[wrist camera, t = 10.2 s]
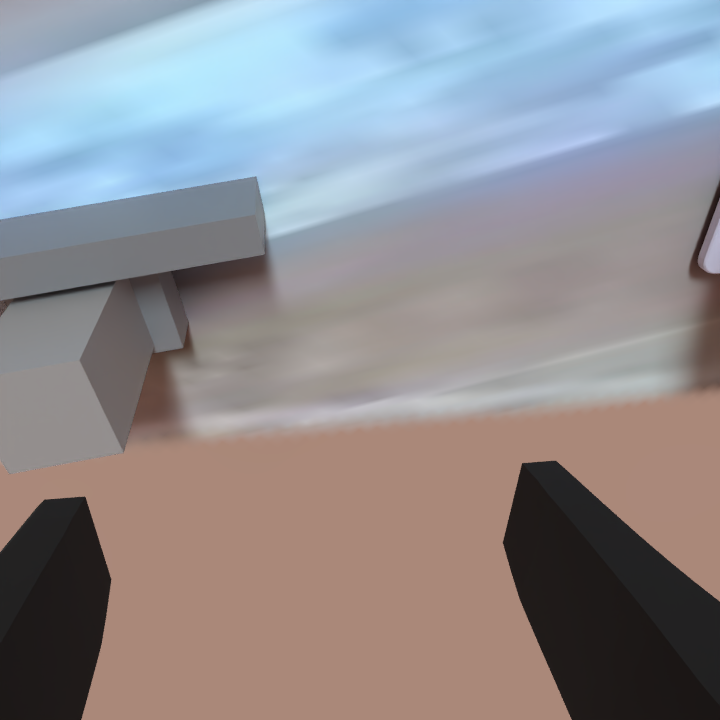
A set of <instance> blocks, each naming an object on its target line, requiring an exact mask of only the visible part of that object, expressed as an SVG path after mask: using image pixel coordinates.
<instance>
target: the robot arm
mask: <svg viewBox="0 0 720 720" xmlns="http://www.w3.org/2000/svg"><path fill="white" fill-rule="evenodd" d="M698 265H699V267H701V268H702V269H703V270H705V271H706V272H707V273H711V274H720V199H719V202H718V205H717V207H716V210H715V213H714V215H713V218H712V221H711V224H710V226H709V229H708V232H707V234H706V237H705V240H704V243H703V245H702V248H701V251H700V253H699V256H698ZM503 544H504V548H505V551H506V555H507V559H508V562H509V566H510V569H511V573H512V576H513V579H514V582H515V585H516V588H517V592H518V595H519V598H520V601H521V603H522V606H523V608H524V610H525V613H526V615H527V617H528V620H529V622H530V625H531V626H532V629H533V632H534V634H535V636H536V638H537V641H538V643H539V646H540V648H541V650H542V652H543V655H544V657H545V659H546V661H547V664H548V666H549V668H550V671H551V673H552V675H553V677H554V680H555V682H556V684H557V687H558V689H559V691H560V694H561V696H562V698H563V701H564V703H565V705H566V707H567V710H568V712H569V714H570V717H571V719H572V720H720V602H719V601H718V600H717V599H716V598H714V597H713V596H712V595H710V594H709V593H708V592H707V591H705V590H704V589H703V588H702V587H700V586H699V585H698V584H696V583H695V582H694V581H693V580H691V579H690V578H689V577H688V576H687V575H685V574H684V573H683V572H682V571H680V570H679V569H678V568H677V567H676V566H674V565H673V564H672V563H671V562H670V561H668V560H667V559H666V558H665V557H664V556H662V555H661V554H660V553H659V552H658V551H656V550H655V549H654V548H653V547H652V546H650V545H649V544H648V543H647V542H646V541H645V540H644V539H642V538H641V537H640V536H639V535H638V534H637V533H636V532H635V531H633V530H632V529H631V528H630V527H629V526H628V525H627V524H625V523H624V522H623V521H622V520H621V519H620V518H619V517H617V515H615V514H614V513H613V512H612V511H611V510H610V509H609V508H608V507H607V506H605V505H604V504H603V503H602V502H601V501H600V500H599V499H598V498H597V497H596V496H594V495H593V494H592V493H591V492H590V491H589V490H588V489H587V488H586V487H584V486H583V485H582V484H581V483H580V482H579V481H578V480H577V479H576V478H574V477H573V476H572V475H571V474H570V473H569V472H568V471H567V470H566V469H565V468H563V467H562V466H561V465H560V464H559V463H558V462H557V461H546V462H533V463H522V466H521V470H520V475H519V479H518V483H517V487H516V491H515V495H514V499H513V504H512V508H511V512H510V516H509V520H508V524H507V528H506V532H505V537H504V541H503ZM110 584H111V577H110V574H109V571H108V568H107V564H106V561H105V558H104V555H103V552H102V549H101V545H100V542H99V539H98V536H97V532H96V529H95V527H94V523H93V520H92V517H91V514H90V510H89V507H88V504H87V501H86V498H85V497H75V498H62V499H49V500H44V501H43V502H42V503H41V504H40V505H39V506H38V507H37V508H36V509H35V511H34V512H33V513H32V514H31V516H30V517H29V518H28V519H27V520H26V521H25V523H24V524H23V525H22V526H21V528H20V529H19V530H18V531H17V532H16V534H15V535H14V536H13V537H12V539H11V540H10V541H9V542H8V543H7V545H6V546H5V547H4V548H3V550H2V551H1V552H0V720H81V718H82V714H83V711H84V708H85V704H86V700H87V697H88V693H89V689H90V686H91V682H92V678H93V674H94V671H95V667H96V663H97V659H98V656H99V652H100V648H101V643H102V638H103V632H104V626H105V620H106V613H107V606H108V599H109V592H110Z"/></svg>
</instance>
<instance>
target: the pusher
mask: <svg viewBox="0 0 720 720" xmlns="http://www.w3.org/2000/svg"><path fill="white" fill-rule="evenodd" d="M260 255H265V234H264V208H263V204H262V199H261V195H260V190H259V186H258V182H257V177H250V178H244V179H238V180H233V181H227V182H221V183H215V184H209V185H203V186H197V187H191V188H185V189H179V190H173V191H167V192H161V193H155V194H150V195H144V196H138V197H132V198H126V199H120V200H114V201H108V202H102V203H96V204H90V205H84V206H78V207H72V208H67V209H61V210H55V211H49V212H43V213H37V214H31V215H25V216H19V217H13V218H7V219H1V220H0V301H1V300H4V301H5V303H6V305H7V309H6V310H5V311H4V313H3V314H2V315H1V317H0V460H1V462H2V464H3V465H4V467H5V468H6V470H7V471H8V473H9V474H13V473H18V472H24V471H29V470H34V469H40V468H45V467H50V466H56V465H61V464H67V463H72V462H77V461H83V460H88V459H93V458H99V457H104V456H110V455H115V454H120V453H124V450H125V446H126V443H127V439H128V436H129V432H130V429H131V425H132V422H133V418H134V415H135V411H136V408H137V404H138V401H139V397H140V394H141V390H142V386H143V383H144V379H145V376H146V372H147V369H148V365H149V362H150V358H151V355H152V353H158V352H163V351H169V350H174V349H180V348H183V346H184V342H185V337H186V332H187V327H188V319H187V316H186V313H185V310H184V307H183V304H182V301H181V298H180V295H179V292H178V289H177V286H176V283H175V281H174V278H173V275H172V272H171V271H173V270H179V269H185V268H191V267H196V266H202V265H208V264H214V263H219V262H225V261H231V260H237V259H242V258H248V257H254V256H260Z"/></svg>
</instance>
